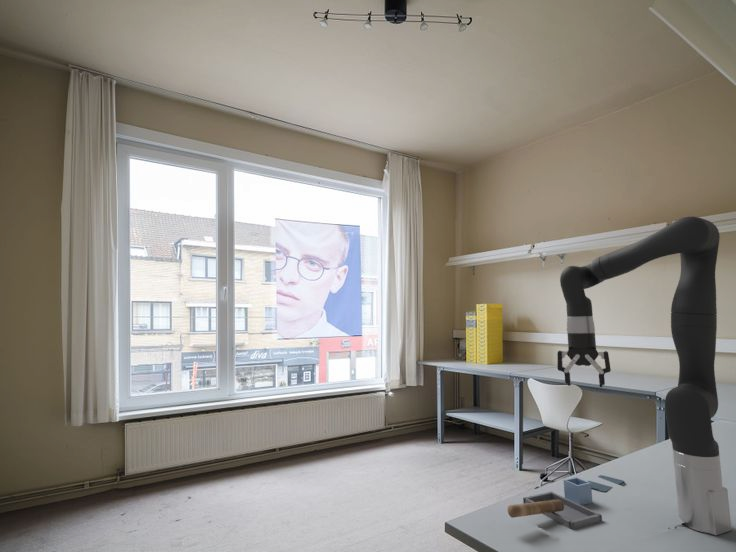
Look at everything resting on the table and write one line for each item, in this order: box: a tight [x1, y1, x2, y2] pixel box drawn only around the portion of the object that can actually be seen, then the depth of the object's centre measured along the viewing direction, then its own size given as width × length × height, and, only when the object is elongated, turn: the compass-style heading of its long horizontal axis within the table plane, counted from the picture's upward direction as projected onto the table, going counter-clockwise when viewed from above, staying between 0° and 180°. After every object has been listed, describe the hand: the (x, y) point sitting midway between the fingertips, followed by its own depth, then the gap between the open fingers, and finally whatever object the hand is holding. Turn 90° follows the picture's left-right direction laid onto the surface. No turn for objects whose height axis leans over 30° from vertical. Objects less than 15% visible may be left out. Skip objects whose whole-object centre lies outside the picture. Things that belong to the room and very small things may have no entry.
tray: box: [522, 491, 603, 530], centre depth 111 cm, size 16×10×2 cm, turn 22°
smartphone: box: [586, 474, 626, 493], centre depth 129 cm, size 8×2×15 cm
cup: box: [563, 477, 593, 506], centre depth 117 cm, size 5×5×6 cm
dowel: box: [507, 499, 564, 518], centre depth 105 cm, size 3×3×16 cm
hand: (584, 386), depth 129 cm, fingers open, 8 cm apart
